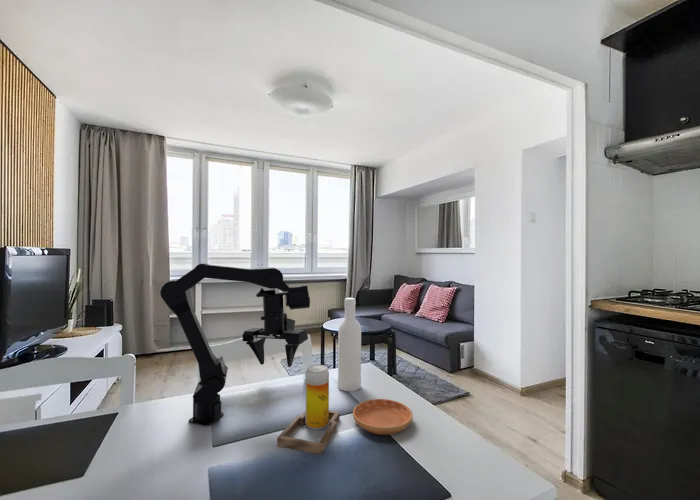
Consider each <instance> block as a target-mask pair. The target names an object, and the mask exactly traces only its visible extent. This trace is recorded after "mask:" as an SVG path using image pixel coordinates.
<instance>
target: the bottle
mask: <svg viewBox="0 0 700 500" xmlns="http://www.w3.org/2000/svg"><path fill="white" fill-rule="evenodd" d="M356 305H357V302H356V298H354V297H345V298H344V319H343V320H342V321H341V322H340V324H339V327H338V330H337V331H338V336H337V340H338V341H337V342H338V344H337V346H338V347H337V348H338V350H337V362H338V363H337V388H338V387H339V388H340V389H341V390H340V389H339V388H338V389H339V390H340V391H343V390H344V391H343V392H347V391H352V392H356V391H355V390H357V391H359V390H360V389H361V388H360V387H361V385H362V326H361V324H360V322H359V321H358V320H357V319H356ZM359 388H360V389H359ZM358 389H359V390H358Z"/></svg>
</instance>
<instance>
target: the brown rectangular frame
mask: <svg viewBox="0 0 700 500" xmlns="http://www.w3.org/2000/svg"><path fill="white" fill-rule="evenodd" d="M340 413H341V412H340V411H337V410H329V422H328V424H327V425H328V428H327V430H326V431H325V432H324V434H323V435H322V437H321V438H320V439H319V441H318V442H317V441H312V440H306V439H301V438H297V437H291V436H292V435H293V433H294V432H295V431H296V430H297V429H298V428H299V426H304V425H305V424H306V423H305V415H306V410H304V412H302V414H301V415H298V414H297V415H296V416H295V417H294V419H293V420H292V421H290V423H289V424H288V426H286V427H285V428H284V430H283V431H281V432H280V434H279V435H278V436H276V439H277V440H276V441H277V442H276V446H277V447H279V448H284V449H289V450H294V451H295V450H296V451H299V452H304V453H309V454H315V455H323V453H324V450H325V449H326V448H327V446H328V445H329V443H330V441H331V440H332V438H333V436H334V435H335V433H336V432H337V429H338V426H337V425H338V422H339V421H340V420H341V419H340V418H341V417H340Z"/></svg>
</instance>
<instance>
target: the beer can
mask: <svg viewBox="0 0 700 500" xmlns="http://www.w3.org/2000/svg"><path fill="white" fill-rule="evenodd" d="M329 394H330V372H329V369H328V367H327V366H326V365H324V364H311V365H310V366H307V368H306V371H305V411H306V415H305V424H306V426H307V428H308V429H310V430H313V431H320V430H323V429H324V428H326V427H327V425H328V423H329V421H330V420H329V409H330V407H329V405H330V403H329V401H330V400H329V399H330V397H329V396H330V395H329Z"/></svg>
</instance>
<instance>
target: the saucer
mask: <svg viewBox="0 0 700 500" xmlns="http://www.w3.org/2000/svg"><path fill="white" fill-rule="evenodd" d="M352 414H353V415H352V416H353V420H354V421H355V423H356V424H357V425H358V426H360V428H361V429H362V430H365V431H366V432H368V433H371V434H374V435H379V436H390V435H395V434H399V433H401V432H402V431H403V430H405V429H407V428H408V427H409V426H410V424H411V423H412V421H413V415H414V414H413V411H412V409H410V407H409V406H407V405H405V404H404V403H402V402H399V401H397V400H392V399H386V398H375V399H369V400H364V401H362V402H360V403H357V404H356V405H355V407H354V408H353V410H352Z"/></svg>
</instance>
